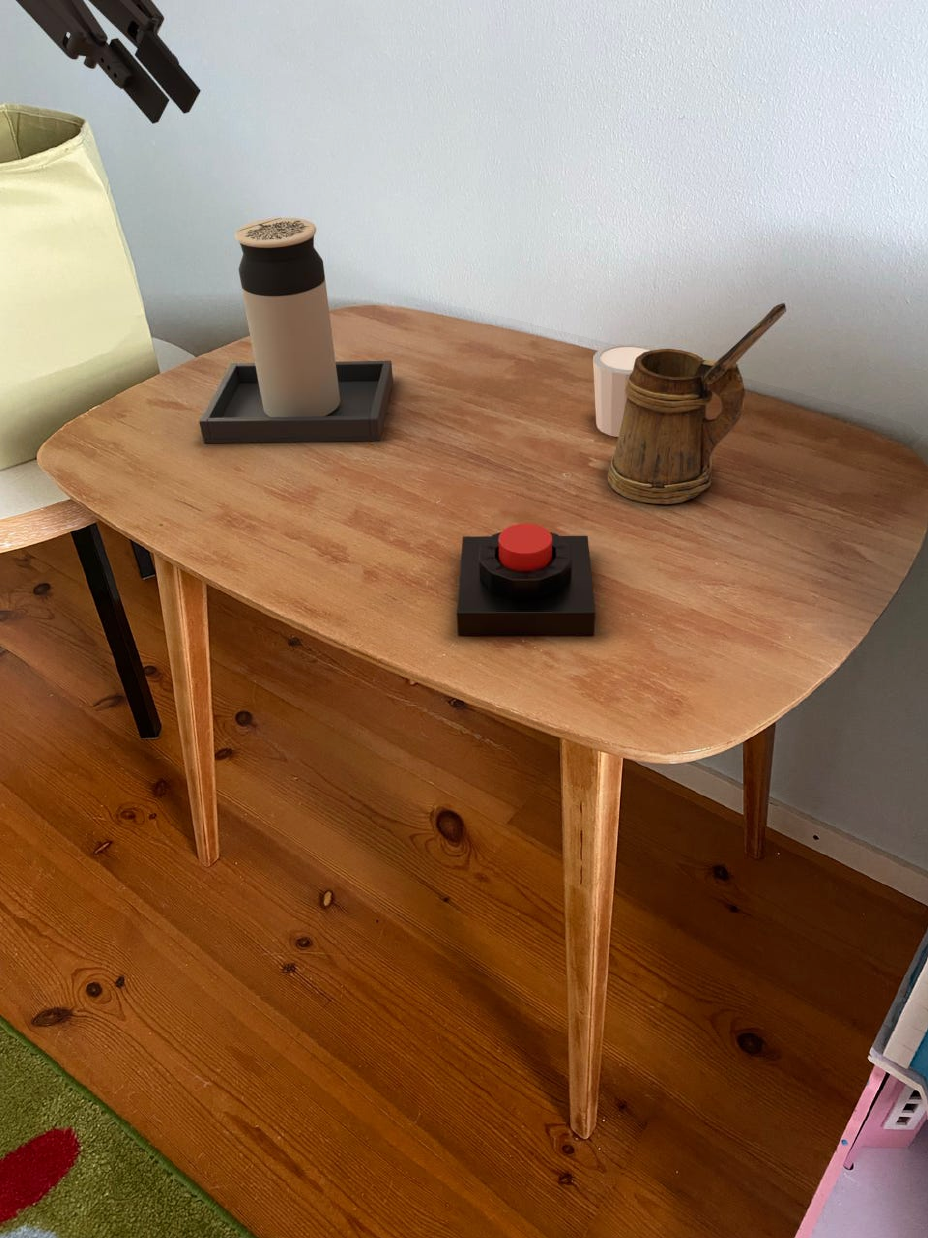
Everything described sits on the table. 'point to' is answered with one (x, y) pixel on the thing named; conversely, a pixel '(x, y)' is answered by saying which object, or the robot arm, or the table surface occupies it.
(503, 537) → the button
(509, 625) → the control block
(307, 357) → the travel mug
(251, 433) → the tray
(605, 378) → the white cup
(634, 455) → the wooden mug
